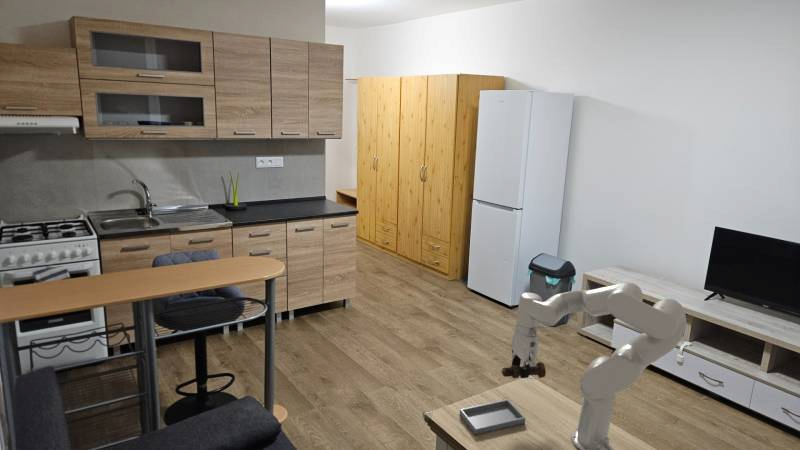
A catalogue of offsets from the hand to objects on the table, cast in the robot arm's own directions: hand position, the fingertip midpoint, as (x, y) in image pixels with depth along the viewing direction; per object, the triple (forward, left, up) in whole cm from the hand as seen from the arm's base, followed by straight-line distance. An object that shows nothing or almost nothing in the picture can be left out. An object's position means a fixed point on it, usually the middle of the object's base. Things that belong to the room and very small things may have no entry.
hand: (519, 372), depth 189 cm
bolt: (0, -1, -2) cm, 2 cm away
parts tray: (-2, +11, -16) cm, 19 cm away
